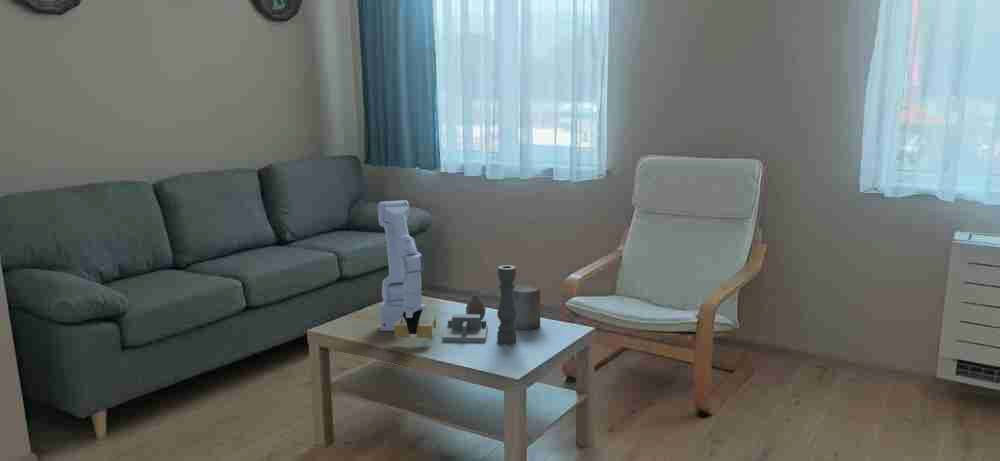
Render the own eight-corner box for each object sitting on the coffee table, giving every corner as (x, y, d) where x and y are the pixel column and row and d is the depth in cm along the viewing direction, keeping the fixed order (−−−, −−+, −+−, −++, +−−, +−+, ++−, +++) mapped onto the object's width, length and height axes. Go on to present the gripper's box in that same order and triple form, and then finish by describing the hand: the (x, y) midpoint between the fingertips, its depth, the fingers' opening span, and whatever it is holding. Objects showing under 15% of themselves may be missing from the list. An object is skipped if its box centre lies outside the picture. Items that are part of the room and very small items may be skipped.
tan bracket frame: (431, 337, 243) (431, 326, 243) (394, 337, 244) (394, 325, 243) (436, 327, 255) (436, 315, 254) (400, 326, 255) (400, 315, 254)
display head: (485, 342, 247) (485, 324, 246) (442, 341, 248) (442, 324, 246) (487, 329, 260) (487, 312, 259) (447, 329, 260) (446, 312, 259)
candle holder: (502, 346, 243) (502, 270, 239) (494, 340, 249) (493, 266, 244) (519, 343, 246) (519, 268, 241) (510, 337, 252) (510, 264, 247)
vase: (486, 317, 274) (486, 293, 272) (484, 323, 267) (484, 299, 265) (467, 316, 274) (467, 293, 273) (464, 322, 268) (464, 298, 266)
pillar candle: (539, 321, 269) (538, 280, 266) (541, 329, 259) (541, 287, 256) (511, 322, 268) (511, 280, 266) (512, 330, 259) (512, 288, 256)
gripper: (421, 298, 234) (422, 340, 237) (428, 286, 248) (428, 325, 251) (398, 298, 235) (399, 339, 237) (406, 285, 249) (407, 325, 251)
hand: (413, 332), depth 244 cm, fingers closed on tan bracket frame, 2 cm apart
